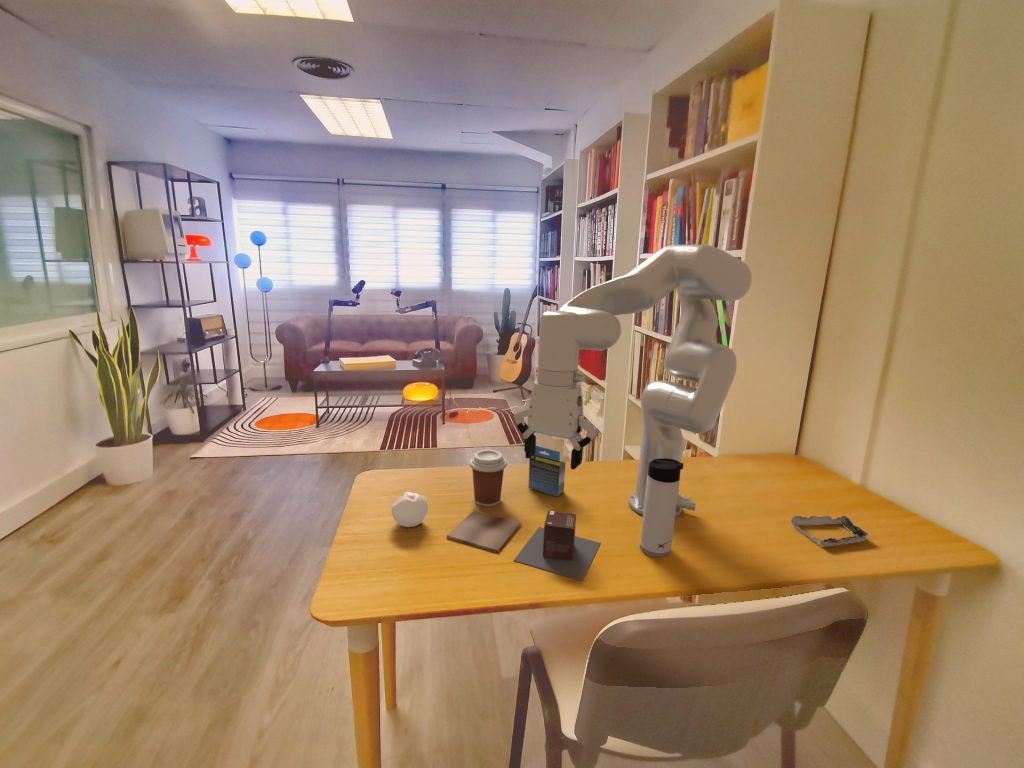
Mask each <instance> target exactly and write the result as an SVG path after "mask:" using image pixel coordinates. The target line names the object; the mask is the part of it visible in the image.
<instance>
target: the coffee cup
mask: <svg viewBox="0 0 1024 768" xmlns="http://www.w3.org/2000/svg"><path fill="white" fill-rule="evenodd" d="M507 466H508V461H507V460H506V458H505V457H504V455H503V453H501V451H499V450H494V449H482V450H478V451H476V452H475V453H474V454H473V457H471V458H470V459H469V467H470V468H471V470H472V482H473V494H474V495H473V496H474V497H473V498H474V503H475V504H476V505H478V506H481V507H494V506H497V505H499V504H500V503H501V498H502V497H501V496H502V488H503V480H504V470H506V467H507Z"/></svg>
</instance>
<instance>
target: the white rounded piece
mask: <svg viewBox="0 0 1024 768" xmlns="http://www.w3.org/2000/svg"><path fill="white" fill-rule="evenodd" d="M390 507H391V508H390V509H391V515H392V518H393V520H394V521H395V522H396V523H397V524H398V525H400V526H402V527H405V528H413V527H416V526H418V525H420V524H421V523H423V521H424V519H425V518H426V516H427V514H428V509H429V508H428V507H429V506H428V499H427V497H425V495H424V496H423V495H420V494H419V493H416V492H411V491H405V492H404V493H403V495H402V496H400V497H398V498H397V499H395V501H394V503H393V504H392V505H391V506H390Z"/></svg>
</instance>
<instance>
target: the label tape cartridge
mask: <svg viewBox="0 0 1024 768" xmlns="http://www.w3.org/2000/svg"><path fill="white" fill-rule="evenodd" d="M541 452H545V453H546V454H545V453H541ZM560 453H561V452H560V451H557V450H554V449H550V448H546V447H541V446H538V445H536V450H535V454H534V455H533V456H531V457H530V458H529V464H528V465H529V466H528V467H529V468H528V470H529V471H528V489H530V488H531V490H534V491H537V492H540V493H541V492H542V493H544V494H547V495H551V496H554V497H559V496H561V495H562V494H563V493H564V492H565V491H564V489H565V477H566V476H565V475H566V461H561V459H560V457H561V454H560Z"/></svg>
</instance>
